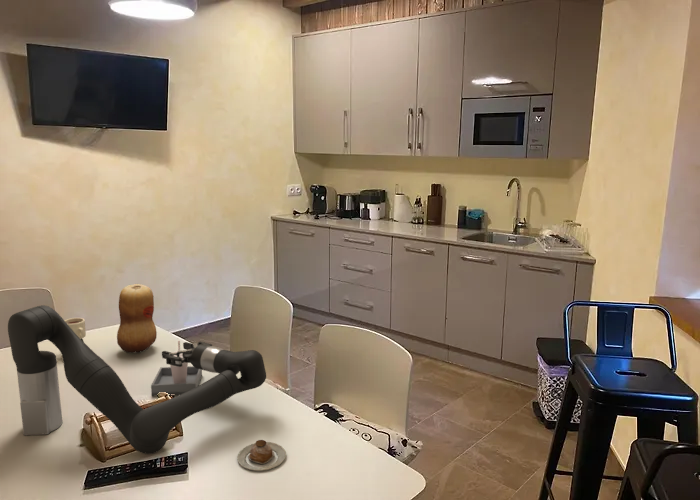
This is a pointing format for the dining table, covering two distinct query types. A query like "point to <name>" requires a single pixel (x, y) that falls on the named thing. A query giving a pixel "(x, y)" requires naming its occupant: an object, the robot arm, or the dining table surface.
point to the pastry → (261, 455)
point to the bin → (166, 384)
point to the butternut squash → (136, 318)
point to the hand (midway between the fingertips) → (173, 349)
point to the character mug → (77, 326)
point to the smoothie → (179, 370)
